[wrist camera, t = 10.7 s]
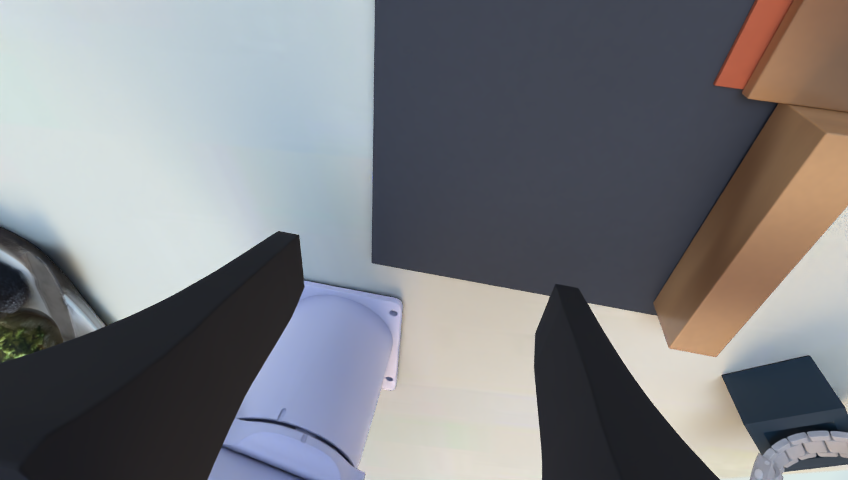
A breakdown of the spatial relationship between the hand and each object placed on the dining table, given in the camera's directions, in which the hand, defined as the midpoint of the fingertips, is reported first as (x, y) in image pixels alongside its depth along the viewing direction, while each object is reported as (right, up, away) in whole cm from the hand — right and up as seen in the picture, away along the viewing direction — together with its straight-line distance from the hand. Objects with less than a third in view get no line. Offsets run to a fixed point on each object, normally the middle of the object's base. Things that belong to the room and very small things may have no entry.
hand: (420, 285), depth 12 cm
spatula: (+14, +5, +5) cm, 16 cm away
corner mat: (+8, +6, +6) cm, 11 cm away
